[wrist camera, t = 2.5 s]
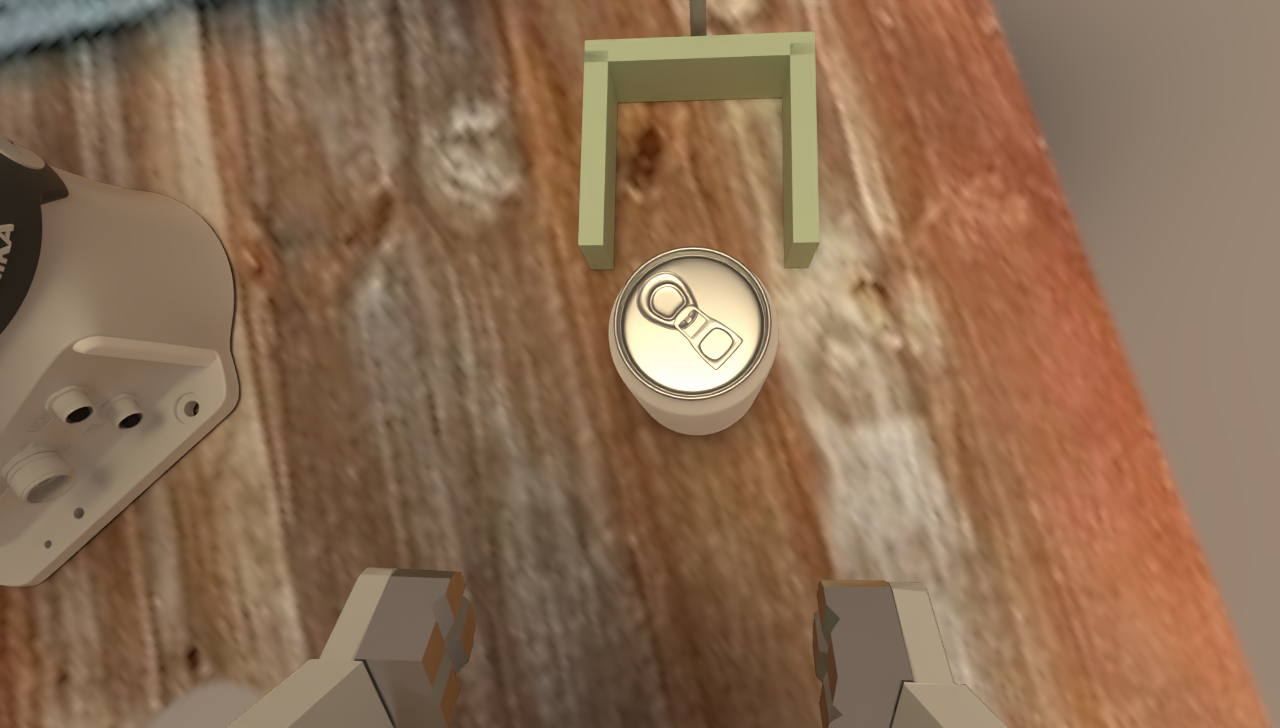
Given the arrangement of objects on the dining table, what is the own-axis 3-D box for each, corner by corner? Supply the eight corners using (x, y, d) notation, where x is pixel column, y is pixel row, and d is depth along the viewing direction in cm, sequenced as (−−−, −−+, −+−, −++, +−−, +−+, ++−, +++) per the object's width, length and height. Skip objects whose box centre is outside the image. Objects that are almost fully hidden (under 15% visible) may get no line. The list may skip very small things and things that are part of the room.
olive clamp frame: (808, 267, 38) (864, 143, 24) (591, 269, 39) (527, 151, 25) (802, 10, 41) (851, -236, 27) (598, 18, 42) (544, -214, 28)
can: (692, 287, 38) (684, 199, 27) (786, 368, 37) (823, 313, 26) (608, 378, 38) (564, 329, 26) (702, 463, 37) (698, 451, 25)
